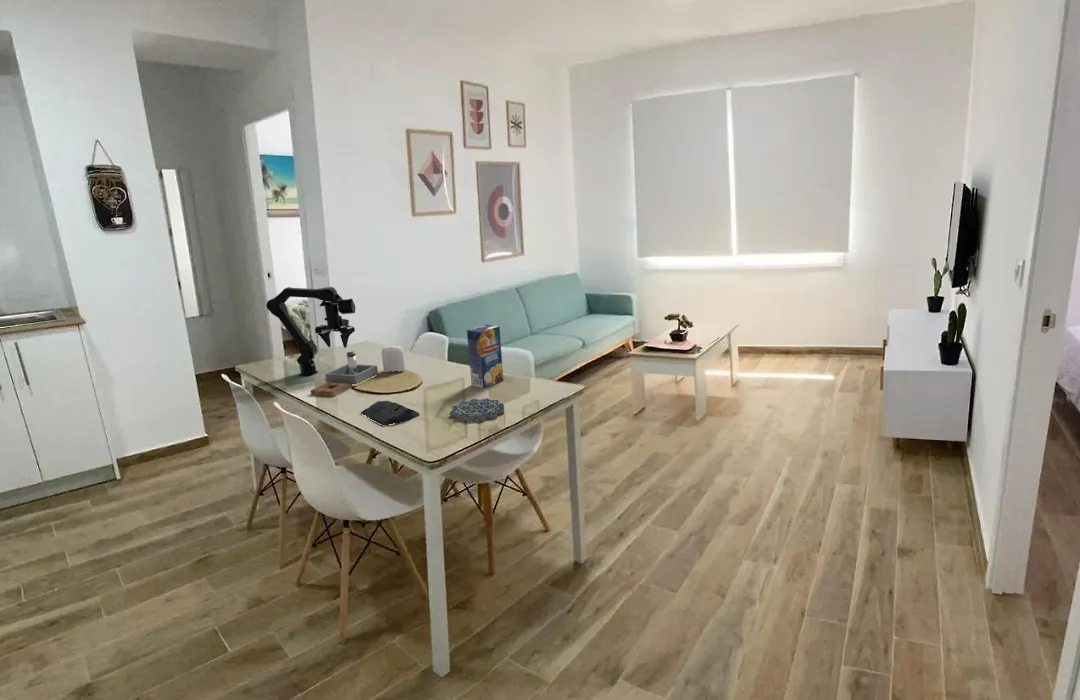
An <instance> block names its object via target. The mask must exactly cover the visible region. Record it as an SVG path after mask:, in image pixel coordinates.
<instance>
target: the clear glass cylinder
mask: <svg viewBox="0 0 1080 700" xmlns="http://www.w3.org/2000/svg"><path fill="white" fill-rule="evenodd" d="M346 357H347V364H348V366H349V373H350V375H356V374H358V370H357V364H358V363H357V358H356V357H357V356H356V351H347V352H346Z"/></svg>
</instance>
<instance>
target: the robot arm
mask: <svg viewBox="0 0 1080 700" xmlns="http://www.w3.org/2000/svg"><path fill="white" fill-rule="evenodd" d="M290 298H307V299H309V298H310V299H317V300H320V301H321V303H320V304H319V307H324V312H325V318H324V321H326V324H321V325H318V326H316V327H315V328H314V333H315V334H317V336H320V338H321V339H322V340H323V341H324V343H325V344H326V347H328V348H330V347H331V337H330V334H331V332H336V333H337V332H338V333H340V339H341V342H342V346H343V348H344V349H346V348H347V347H348V342H349V338H350V336H351V335H352V334H353V333H354V332H356V329H355V327H354V325H350V324H349V323H350V319H345V318H342V317H343V316H342V315H347V314H348V315H349V314H355V313H356V304H355V302H354V301H353V298H348V299H343V297H341V295H339V293H338V291H337V290H336V289H335V287H333V286H327V287H320V288H301V287H291V286H290V287H289V286H287V287H285V288H283V290H282V291H281V292H279V294H277V295H276V296H275V297H273V298H271V299H268V301H267V302H266V309H267V310H268V311H269V313H271V314H272V315H273V316H275V317H276V318H278V320H280V322H281V324H282V325H283V326H284V328H285V330H287V332H288V334H289V335H290V336H291V337H292V339H293V340H294V342H295V343H296V344H297V348H298V352H299V354H300V356H298V357H297V359H296V361H297V364H298V365H299V369H300V373H298V376H303V377H304V376H306V377H311V376H312V375H315V374H317V373H319V370H317V367H316V364H315V360H314V359H315V357H316V355H317V354H318V352H319V350H318V345H317V344H315V341H314V340H313V339H310V340H309V339H307V338H306V336H305V335H304V334H303V332H302V331H301V329H300V327H298V325H297V324H296V323H295V321H294V320H293V318H292V317H291V315H290V313H289V312H288V308H287V305H286V302H287V301H288V300H289V299H290ZM340 314H341V315H340Z"/></svg>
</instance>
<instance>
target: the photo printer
mask: <svg viewBox="0 0 1080 700" xmlns="http://www.w3.org/2000/svg"><path fill="white" fill-rule="evenodd" d="M381 359H382V366H383V372H384V373H391V372H390V371H398V372H397V373H403V372H402V371H404V372H405V371H406V362H405V354H404V347H402V346H399V345H387V346H383V347H381ZM399 371H401V372H399Z"/></svg>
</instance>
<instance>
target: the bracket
mask: <svg viewBox="0 0 1080 700" xmlns="http://www.w3.org/2000/svg"><path fill="white" fill-rule="evenodd" d="M351 386H352V383H343V382H330V381H329V382H327V383H326V382H325V383H323V384H320V385H318V386H317V387H315V388H313V389H310V395H311V394H314V396H321V395H325V396H324V397H332V396H335V397H337V396H338V395H340V394H343V393H345V392H346V391H348V390H350V388H351ZM352 387H353V386H352ZM351 389H352V388H351ZM336 395H337V396H336Z"/></svg>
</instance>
